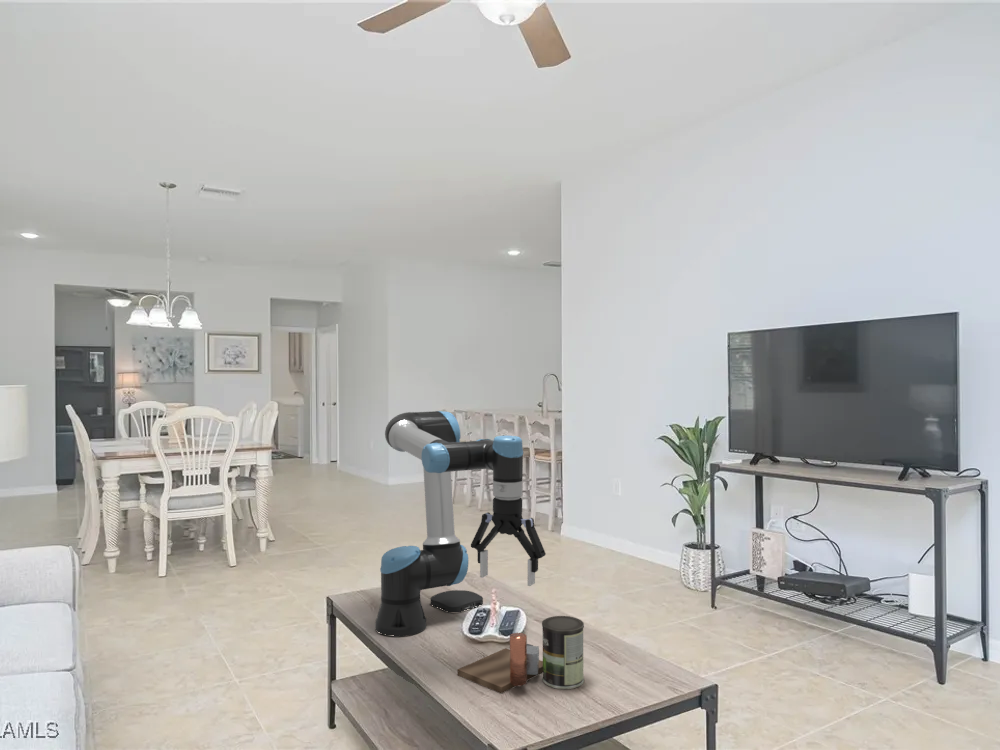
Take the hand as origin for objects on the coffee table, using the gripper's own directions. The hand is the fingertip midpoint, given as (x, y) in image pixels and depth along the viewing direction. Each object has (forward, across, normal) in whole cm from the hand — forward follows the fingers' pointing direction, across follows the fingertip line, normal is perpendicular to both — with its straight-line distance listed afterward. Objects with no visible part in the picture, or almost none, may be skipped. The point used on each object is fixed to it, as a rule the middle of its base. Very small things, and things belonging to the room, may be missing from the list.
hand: (507, 580), depth 172 cm
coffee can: (+23, +15, +1) cm, 28 cm away
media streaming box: (+25, -39, +38) cm, 60 cm away
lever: (+21, +6, -2) cm, 22 cm away
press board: (+23, 0, -1) cm, 23 cm away
